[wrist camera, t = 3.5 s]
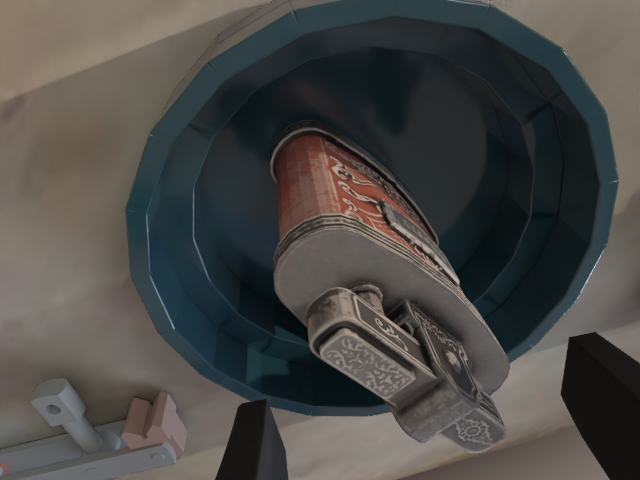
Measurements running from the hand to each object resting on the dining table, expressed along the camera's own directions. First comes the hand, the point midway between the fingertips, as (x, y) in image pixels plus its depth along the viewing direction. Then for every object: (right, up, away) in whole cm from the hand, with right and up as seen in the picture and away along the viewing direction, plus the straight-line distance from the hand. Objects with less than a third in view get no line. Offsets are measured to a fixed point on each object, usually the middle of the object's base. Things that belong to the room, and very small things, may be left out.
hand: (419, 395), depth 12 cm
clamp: (-17, -7, +14) cm, 23 cm away
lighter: (-1, +5, +8) cm, 9 cm away
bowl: (-1, +5, +8) cm, 9 cm away
